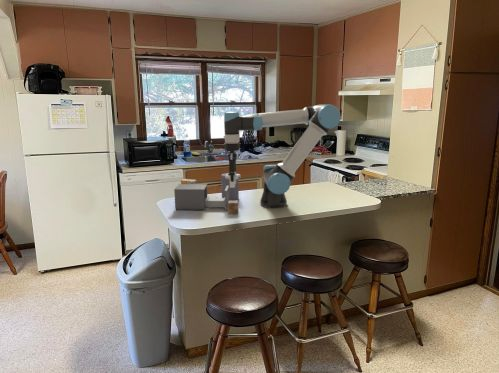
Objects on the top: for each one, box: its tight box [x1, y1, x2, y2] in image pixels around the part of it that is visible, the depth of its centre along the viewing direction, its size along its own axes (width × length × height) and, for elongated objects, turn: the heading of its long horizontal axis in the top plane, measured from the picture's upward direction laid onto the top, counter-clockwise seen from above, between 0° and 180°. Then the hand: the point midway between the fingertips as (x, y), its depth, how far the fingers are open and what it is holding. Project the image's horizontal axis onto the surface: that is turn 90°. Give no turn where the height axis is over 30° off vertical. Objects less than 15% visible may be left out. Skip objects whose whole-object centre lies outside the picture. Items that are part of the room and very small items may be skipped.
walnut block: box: [227, 199, 239, 215], centre depth 202 cm, size 5×5×6 cm
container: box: [220, 172, 240, 200], centre depth 228 cm, size 10×10×15 cm
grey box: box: [173, 183, 208, 212], centre depth 210 cm, size 16×12×12 cm
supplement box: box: [180, 178, 197, 184], centre depth 223 cm, size 8×5×13 cm, turn 70°
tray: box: [204, 186, 229, 211], centre depth 210 cm, size 16×12×11 cm
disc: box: [225, 173, 241, 180], centre depth 198 cm, size 8×8×2 cm
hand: (233, 185), depth 199 cm, fingers closed on disc, 8 cm apart
